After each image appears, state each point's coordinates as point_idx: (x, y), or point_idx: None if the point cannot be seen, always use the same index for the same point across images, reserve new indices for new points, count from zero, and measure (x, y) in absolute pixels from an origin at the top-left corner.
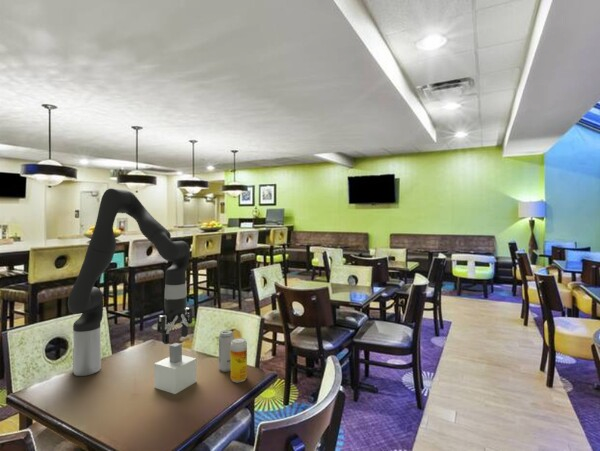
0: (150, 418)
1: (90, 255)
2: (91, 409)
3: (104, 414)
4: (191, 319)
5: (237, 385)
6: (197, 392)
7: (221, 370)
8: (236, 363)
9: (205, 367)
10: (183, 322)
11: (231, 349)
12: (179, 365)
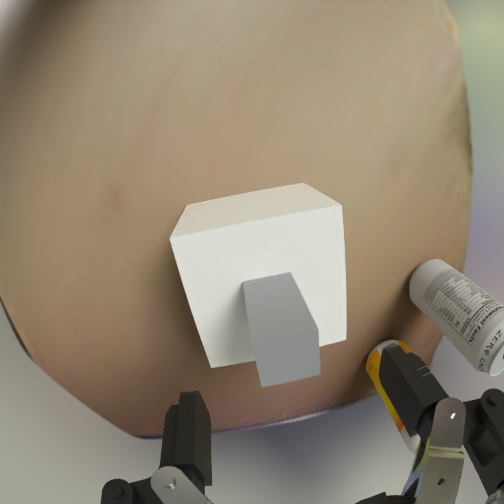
0: (109, 355)
1: None
2: (8, 194)
3: (25, 250)
4: (486, 445)
5: (355, 376)
6: None
7: (410, 281)
8: (386, 406)
9: (410, 211)
10: (405, 487)
11: None
12: (247, 352)
